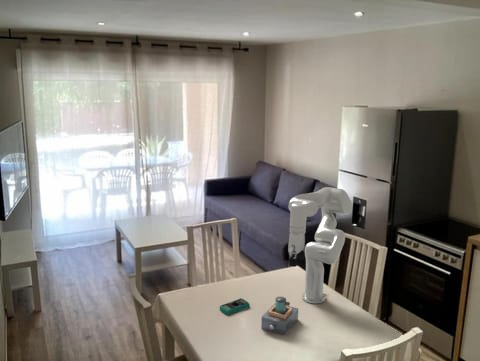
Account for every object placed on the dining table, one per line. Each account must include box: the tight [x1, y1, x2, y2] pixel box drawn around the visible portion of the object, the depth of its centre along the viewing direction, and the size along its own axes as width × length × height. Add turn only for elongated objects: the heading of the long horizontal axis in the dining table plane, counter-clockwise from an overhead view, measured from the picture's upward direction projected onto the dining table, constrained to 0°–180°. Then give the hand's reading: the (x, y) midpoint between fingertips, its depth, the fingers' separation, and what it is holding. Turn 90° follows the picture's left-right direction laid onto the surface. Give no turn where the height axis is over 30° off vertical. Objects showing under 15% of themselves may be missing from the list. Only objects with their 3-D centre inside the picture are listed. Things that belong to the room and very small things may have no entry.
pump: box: [274, 296, 291, 315], centre depth 205 cm, size 5×7×7 cm
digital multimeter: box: [219, 297, 250, 316], centre depth 222 cm, size 7×15×3 cm, turn 127°
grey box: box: [261, 303, 299, 336], centre depth 206 cm, size 18×12×8 cm, turn 151°
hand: (296, 262), depth 210 cm, fingers open, 9 cm apart
